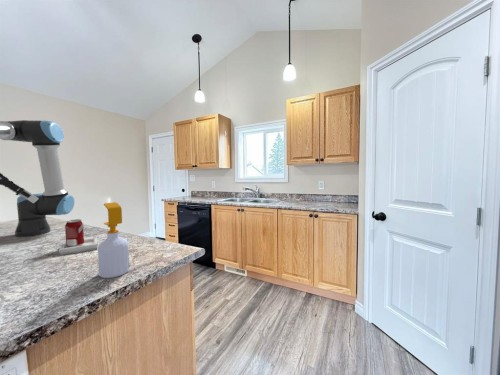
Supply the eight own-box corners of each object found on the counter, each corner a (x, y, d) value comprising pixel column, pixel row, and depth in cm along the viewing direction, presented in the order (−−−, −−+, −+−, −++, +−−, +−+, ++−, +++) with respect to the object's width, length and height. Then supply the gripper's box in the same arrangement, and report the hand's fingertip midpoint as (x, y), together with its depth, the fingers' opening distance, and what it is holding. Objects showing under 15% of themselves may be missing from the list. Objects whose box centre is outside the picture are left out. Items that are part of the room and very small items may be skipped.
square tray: (63, 247, 108) (63, 241, 107) (97, 242, 115) (97, 237, 115) (59, 255, 96) (59, 249, 96) (97, 249, 104) (97, 244, 104)
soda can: (76, 248, 103) (74, 222, 102) (62, 247, 103) (60, 222, 102) (87, 243, 109) (86, 219, 109) (74, 243, 110) (73, 219, 109)
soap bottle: (123, 265, 85) (120, 200, 84) (133, 271, 80) (131, 202, 78) (95, 273, 79) (91, 203, 77) (105, 281, 73) (101, 205, 71)
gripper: (-42, 167, 91) (13, 198, 107) (-26, 176, 79) (33, 210, 95) (-23, 154, 95) (27, 186, 110) (-5, 162, 83) (48, 196, 98)
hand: (30, 197), depth 103 cm, fingers open, 13 cm apart
